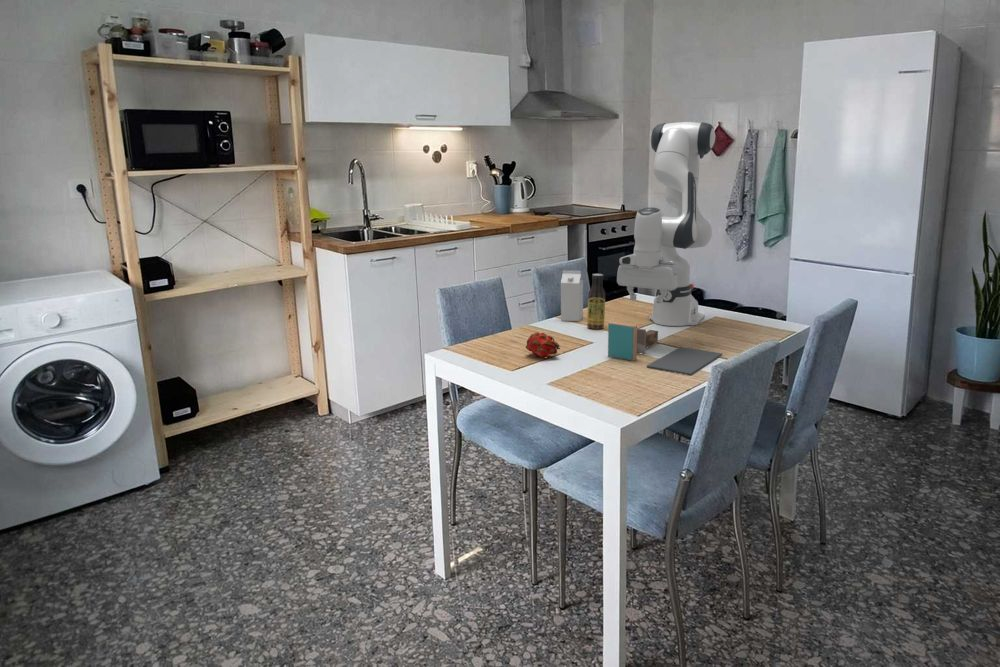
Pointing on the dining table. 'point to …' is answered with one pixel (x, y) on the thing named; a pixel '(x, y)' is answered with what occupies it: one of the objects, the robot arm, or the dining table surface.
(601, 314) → the sauce bottle
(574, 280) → the milk carton
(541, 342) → the dragon fruit
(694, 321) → the robot arm
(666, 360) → the mat
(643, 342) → the wooden post on base
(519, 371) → the dining table surface
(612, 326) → the tile
